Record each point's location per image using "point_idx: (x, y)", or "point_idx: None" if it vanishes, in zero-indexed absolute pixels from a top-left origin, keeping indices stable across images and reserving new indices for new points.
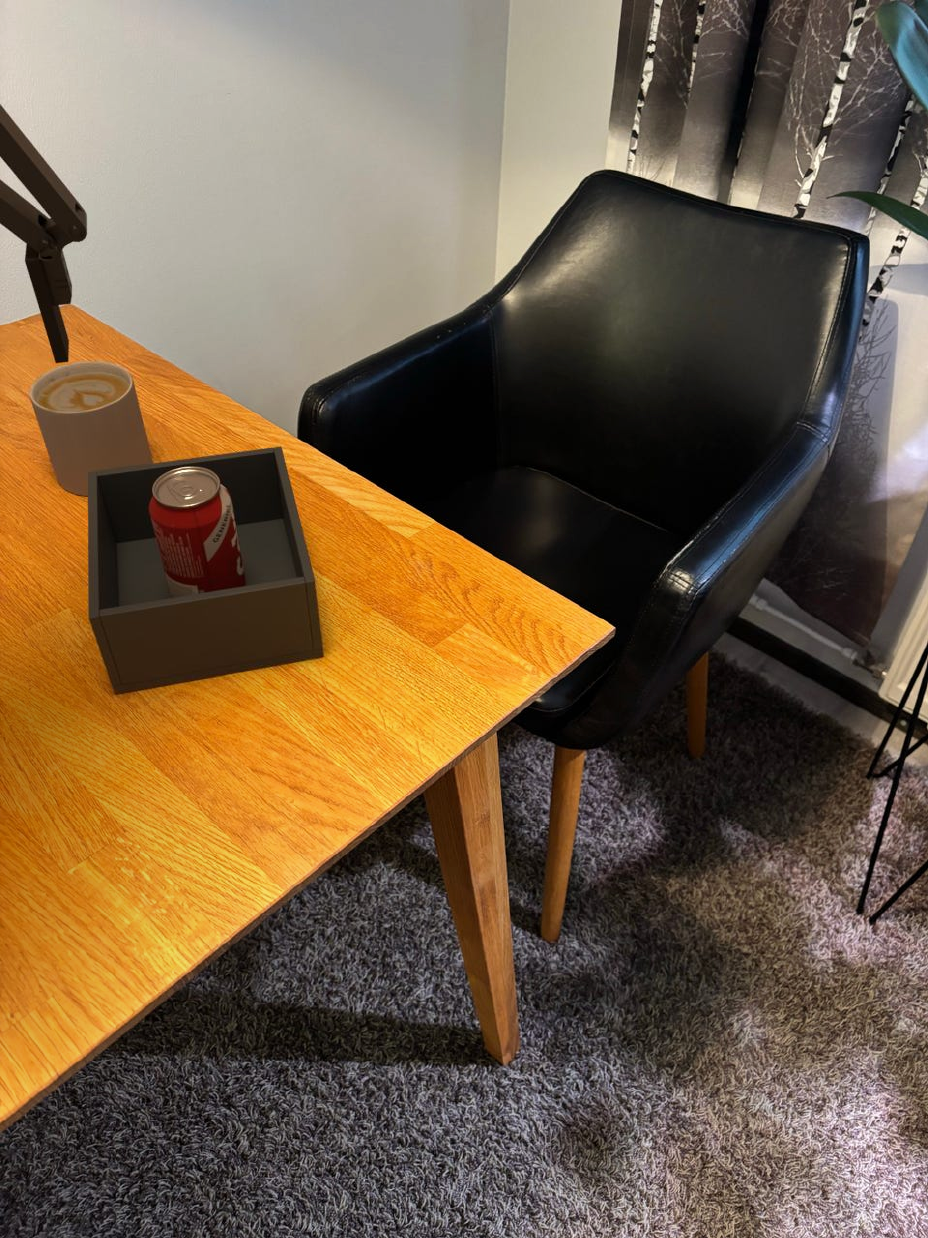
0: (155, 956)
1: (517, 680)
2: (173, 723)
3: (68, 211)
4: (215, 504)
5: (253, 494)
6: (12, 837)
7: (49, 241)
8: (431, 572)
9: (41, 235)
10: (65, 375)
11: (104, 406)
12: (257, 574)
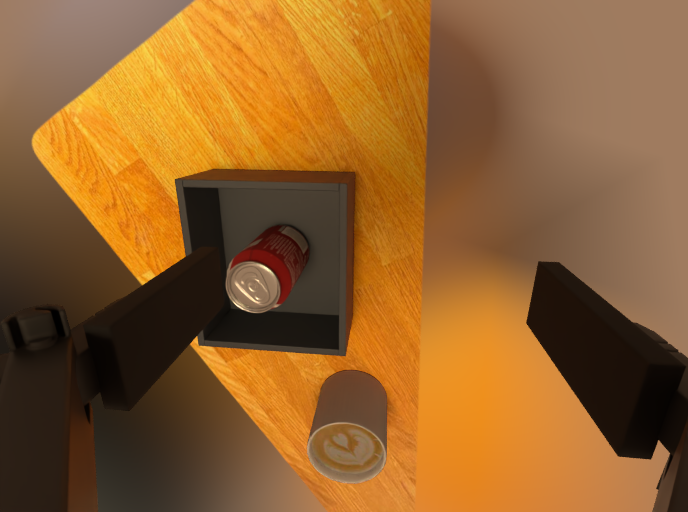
0: None
1: (84, 109)
2: (317, 133)
3: None
4: (233, 265)
5: (239, 322)
6: (427, 55)
7: (23, 347)
8: (136, 231)
9: (22, 358)
10: (360, 473)
11: (328, 424)
12: None
